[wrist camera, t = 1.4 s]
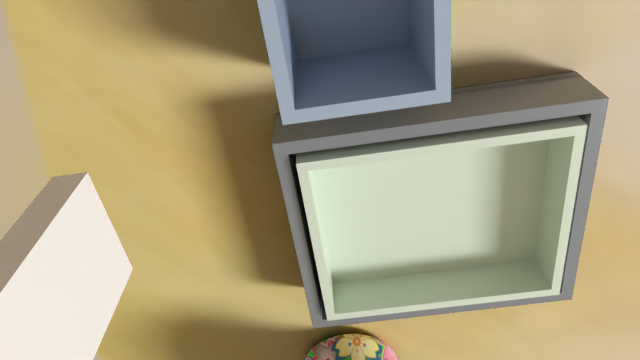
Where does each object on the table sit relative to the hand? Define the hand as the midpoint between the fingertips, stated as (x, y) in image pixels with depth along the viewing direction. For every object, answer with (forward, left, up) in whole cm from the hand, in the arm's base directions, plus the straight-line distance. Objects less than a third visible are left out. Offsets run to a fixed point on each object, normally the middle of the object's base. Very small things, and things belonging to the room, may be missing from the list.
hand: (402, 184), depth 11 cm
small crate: (0, 0, -20) cm, 20 cm away
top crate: (+15, +4, -20) cm, 25 cm away
